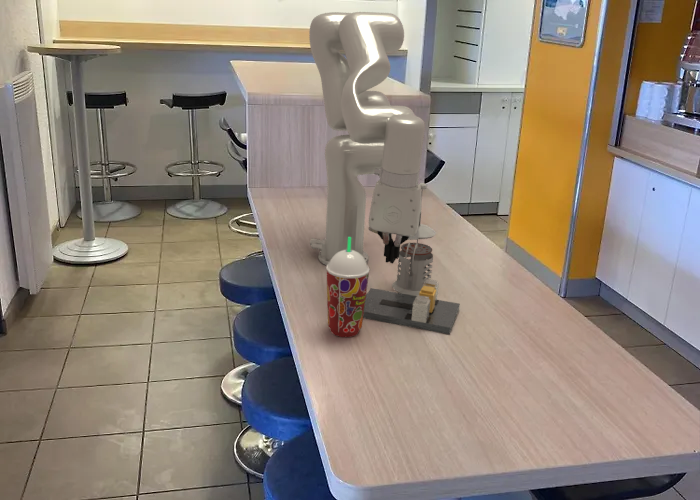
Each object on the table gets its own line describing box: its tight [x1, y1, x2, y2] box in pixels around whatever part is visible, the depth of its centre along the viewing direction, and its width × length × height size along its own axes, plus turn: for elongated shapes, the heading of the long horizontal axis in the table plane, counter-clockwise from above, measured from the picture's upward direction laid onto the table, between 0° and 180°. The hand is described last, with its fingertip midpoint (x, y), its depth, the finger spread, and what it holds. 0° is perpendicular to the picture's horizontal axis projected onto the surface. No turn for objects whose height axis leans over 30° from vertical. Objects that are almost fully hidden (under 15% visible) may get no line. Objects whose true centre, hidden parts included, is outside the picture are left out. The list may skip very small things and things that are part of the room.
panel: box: [363, 278, 461, 335], centre depth 143 cm, size 20×12×6 cm, turn 73°
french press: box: [391, 182, 437, 296], centre depth 152 cm, size 10×12×25 cm
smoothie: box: [325, 237, 370, 338], centre depth 132 cm, size 8×8×20 cm
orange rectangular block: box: [419, 286, 436, 313], centre depth 142 cm, size 3×3×5 cm
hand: (390, 260), depth 143 cm, fingers closed
